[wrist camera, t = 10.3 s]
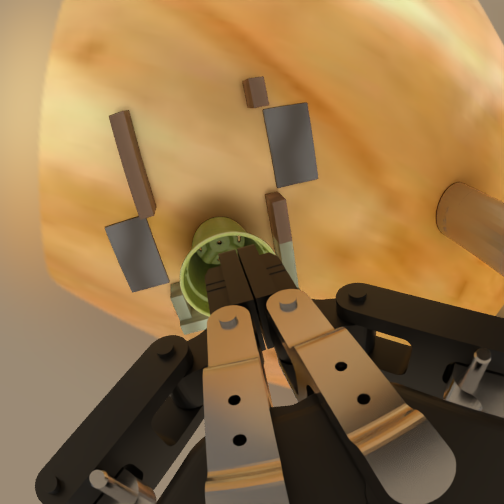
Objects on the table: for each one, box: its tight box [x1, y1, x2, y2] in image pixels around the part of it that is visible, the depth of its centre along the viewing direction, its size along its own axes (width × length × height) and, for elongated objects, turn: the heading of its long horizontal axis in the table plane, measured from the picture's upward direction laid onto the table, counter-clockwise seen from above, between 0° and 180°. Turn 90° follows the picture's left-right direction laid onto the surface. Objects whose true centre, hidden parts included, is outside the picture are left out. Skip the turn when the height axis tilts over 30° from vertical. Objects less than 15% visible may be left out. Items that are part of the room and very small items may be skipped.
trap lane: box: [105, 76, 318, 335], centre depth 32 cm, size 25×26×4 cm
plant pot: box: [180, 217, 275, 317], centre depth 32 cm, size 9×9×9 cm
